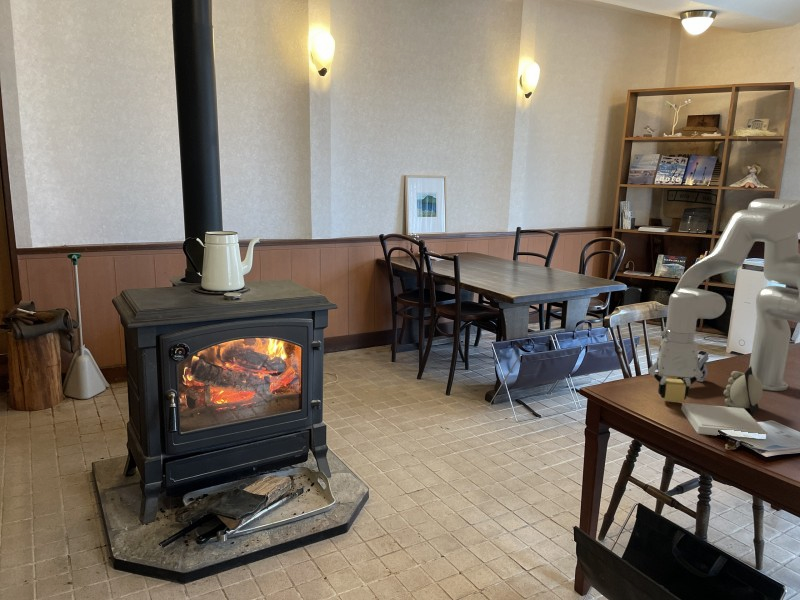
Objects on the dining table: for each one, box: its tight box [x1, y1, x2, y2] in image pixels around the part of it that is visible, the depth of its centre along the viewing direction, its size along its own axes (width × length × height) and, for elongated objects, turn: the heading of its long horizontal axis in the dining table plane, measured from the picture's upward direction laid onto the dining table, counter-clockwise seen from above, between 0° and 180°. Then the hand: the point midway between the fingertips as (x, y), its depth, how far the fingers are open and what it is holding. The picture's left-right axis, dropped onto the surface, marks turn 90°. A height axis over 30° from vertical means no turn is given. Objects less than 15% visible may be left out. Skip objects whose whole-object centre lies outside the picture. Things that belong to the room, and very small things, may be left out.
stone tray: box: [681, 402, 768, 436], centre depth 159 cm, size 16×16×2 cm
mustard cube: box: [663, 377, 686, 403], centre depth 172 cm, size 5×5×5 cm
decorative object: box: [723, 366, 764, 417], centre depth 169 cm, size 12×10×10 cm
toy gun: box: [677, 349, 709, 388], centre depth 187 cm, size 2×18×11 cm, turn 133°
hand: (672, 396), depth 173 cm, fingers closed on mustard cube, 5 cm apart
